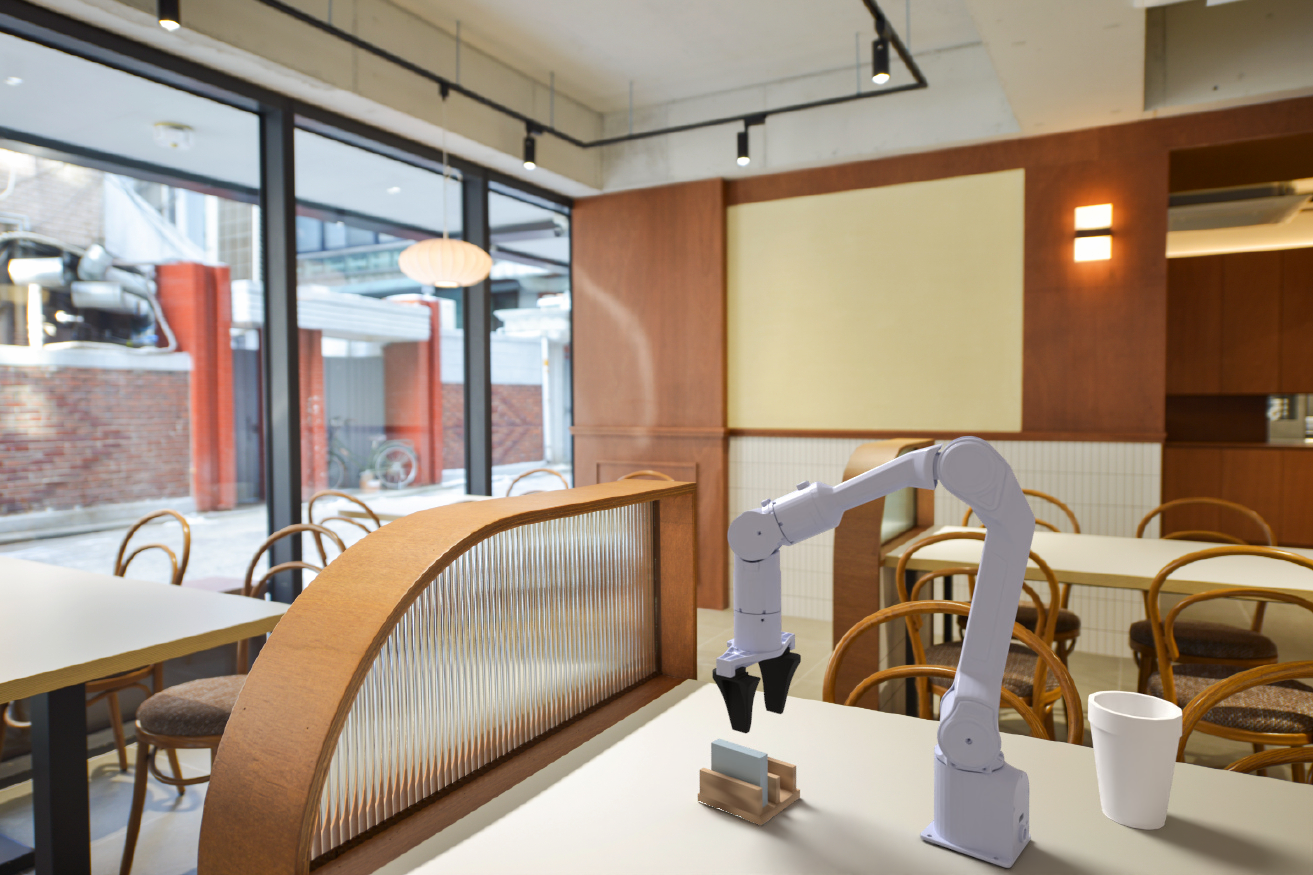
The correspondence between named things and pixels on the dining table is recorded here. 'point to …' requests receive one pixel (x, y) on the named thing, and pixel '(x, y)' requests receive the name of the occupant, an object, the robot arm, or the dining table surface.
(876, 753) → the dining table surface
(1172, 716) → the foam cup
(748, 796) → the rack
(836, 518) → the robot arm
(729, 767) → the pale blue upright slab
